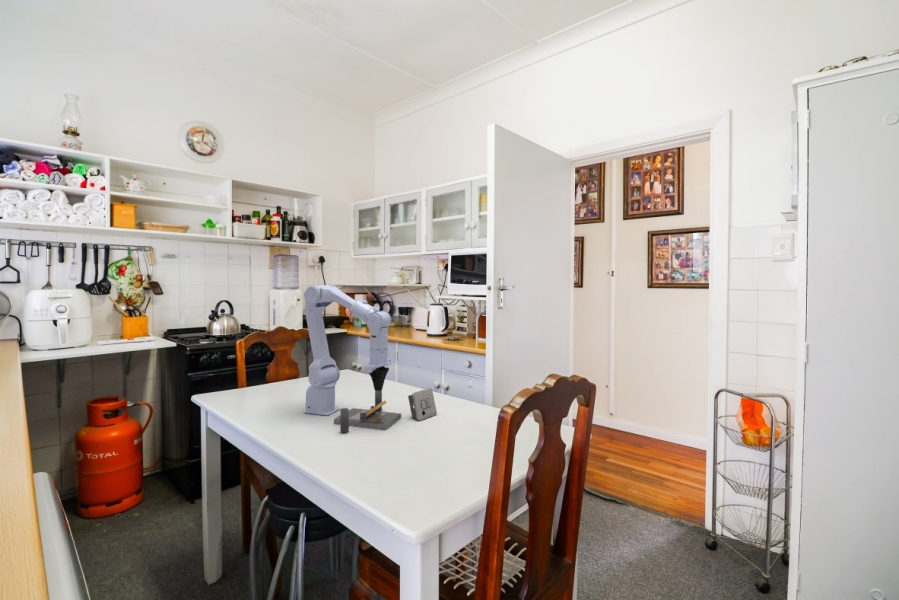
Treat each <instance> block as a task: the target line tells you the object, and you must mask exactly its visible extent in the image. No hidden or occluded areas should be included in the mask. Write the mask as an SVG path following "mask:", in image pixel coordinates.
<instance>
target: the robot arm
mask: <svg viewBox="0 0 899 600" xmlns="http://www.w3.org/2000/svg"><path fill="white" fill-rule="evenodd" d="M303 297H304V298H303V299H304V303H305V305H304V314H305V318H306V324H307V331H308V335H309V340H310V347H311V348H310V349H311V353H312V357H313V361H312V362H311V364H310V365H309V366H308V371H309V374H308V383H309V384H310V385H309V386H308V387H307V389H306V392H305V410H304V412H303V413H305V414H313V415H320V416H321V415H322V416H330V415H332V414H333V413H336V412H338V411H339V410H340V409H341V407H336V386H337V382H338V381H339V380H340V377H341V372H340V370H339V369H340V368H338V366H337V362H336V360H334V359H333V358H332V357H331V356H330V350H329V344H328V339H327V333H326V328H325V327H326V326H325V323H324V318H323V313H324V311H325V310H326V309H327V308H328V307H329V306H330V305H331V304H333V303H334V302H335V303H336V304H338V305H340V306H343V307H344V308H345V309H346V308H347V309H348V310H350V312H351V315H352V316H353V317H355V318H356V319H358V320H360V321H361V322H363V323H365V324H366V326H367V329H368V334H369V362H368V364H367V365H365V366H364V367H365V369H364V371H365V373H368V374H369V375H370V379H371V380H372V384H373V385H372V386H373V388H374V392H375V391H381V390H382V391H383V388H384V385H385V381H386V377H387V375H388V373H389V372H390V368H389V366H391V364H392V359H391V358H389V357H388V356H389V355H388V352H389V351H388V348H389V338H388V336H389V327H390V326H391V325H392V316H391V314H390V313H389V312H387V311H386V310H379V308H378V307H376V306H375V307H374V306H373V305H371V304H368V301H367V300H365V299H364V300H363V299H361V300H355V299H354V298H352V297H351V296H349V295H347V293H344V292H343V291H341V290H340V289H339V287H337V286H334V285H333V284H327V285H326V284H325V285H323V284H322V285H321V284H320V285H316V284H311V285H310V284H309V286H308V287H306V289H305V291H304V293H303ZM387 366H388V367H387Z"/></svg>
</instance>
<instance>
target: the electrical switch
mask: <svg viewBox="0 0 899 600" xmlns="http://www.w3.org/2000/svg"><path fill="white" fill-rule="evenodd" d="M407 399H408V402H409V403H408V404H409V408H410V412H411V414H410V415H411V419H413V420H414V419H416V420H417V422H420V421H423V420H426V419H428V418H431V417H434V416H436V415H437V414H438V412H437V406H436V401H435V397H434V391H433V388H431V387H428V388H425V389H422V390H421V389H420V390H418V391H414V392H412V394H410V395H408V396H407Z"/></svg>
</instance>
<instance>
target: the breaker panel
mask: <svg viewBox="0 0 899 600" xmlns="http://www.w3.org/2000/svg"><path fill="white" fill-rule="evenodd" d="M374 407H375V405H371V406H370V409H371V408H374ZM368 410H369V409H361V408H355V407H353V408H351V409H349V426H350V427H356V428H358V427H359V428H365V429H372V430H373V429H375V430H382V431H387V430H388V429H389V428H391V427H392V426H393V425H394V424H396V423H397V422H398V421H400V420H401V419H402V413H401V412H399V413H398V412H388V411H376V410H375V412H374V413H372V414H371V415H369V416H368V417H366V413H365V412H366V411H368ZM333 424H334V425H340V415H338V416H337V417H334V419H333Z"/></svg>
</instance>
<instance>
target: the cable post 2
mask: <svg viewBox="0 0 899 600" xmlns="http://www.w3.org/2000/svg"><path fill="white" fill-rule="evenodd" d="M381 402H383V389H382V390H381V391H375V390H374V406H376V405H378V404H380V403H381ZM382 410H383V406H381V407H380V408H378V409H377V410H376V411H382ZM382 412H383V411H382Z"/></svg>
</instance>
